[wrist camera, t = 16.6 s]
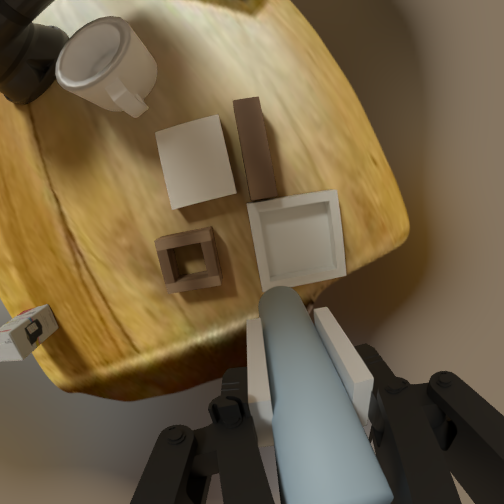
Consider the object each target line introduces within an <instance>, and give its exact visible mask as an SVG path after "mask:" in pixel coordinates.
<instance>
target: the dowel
mask: <svg viewBox="0 0 504 504" xmlns="http://www.w3.org/2000/svg"><path fill="white" fill-rule="evenodd" d="M258 309H259V318H261V324H262V331H263V339H264V347H265V355H266V363H267V371H268V379H269V387H270V395H271V403H272V411H273V418H272V431H273V440H274V448H275V457H276V466H277V474H278V483H279V492H280V500H281V504H390V503H391V502H392V500H393V498H394V496H393V494H392V491H391V489H390V487H389V484H388V482H387V480H386V477H385V475H384V473H383V471H382V468H381V466H380V464H379V462H378V459H377V457H376V455H375V453H374V451H373V448H372V446H371V444H370V442H369V439H368V437H367V435H366V433H365V431H364V428H363V426H362V424H361V422H360V420H359V418H358V415H357V413H356V411H355V409H354V407H353V405H352V403H351V400H350V398H349V396H348V394H347V392H346V390H345V388H344V386H343V384H342V382H341V379H340V377H339V375H338V373H337V371H336V369H335V367H334V365H333V363H332V361H331V359H330V357H329V355H328V352H327V350H326V348H325V346H324V344H323V342H322V340H321V338H320V336H319V334H318V332H317V330H316V328H315V326H314V324H313V322H312V320H311V318H310V316H309V314H308V312H307V310H306V308H305V306H304V304H303V302H302V300H301V298H300V296H299V294H298V293H297V292H296V291H295V290H293V289H292V288H290V287H287V286H276V287H273V288H271V289H269V290H267V291H266V292H265V293H264V294H263V295H262V297H261V298H260V301H259V305H258Z"/></svg>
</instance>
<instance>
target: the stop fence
mask: <svg viewBox="0 0 504 504" xmlns="http://www.w3.org/2000/svg"><path fill="white" fill-rule="evenodd" d="M233 106H234V113H235V118H236V123H237V129H238V134H239V139H240V145H241V150H242V156H243V161H244V166H245V172H246V177H247V183H248V188H249V194H250V199H251V201H252V200H258V199H264V198H269V197H275V196H278V195H277V189H276V184H275V178H274V172H273V167H272V161H271V156H270V151H269V145H268V140H267V135H266V130H265V125H264V120H263V115H262V110H261V105H260V100H259V97H252V98H246V99H240V100H234V101H233Z"/></svg>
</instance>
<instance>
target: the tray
mask: <svg viewBox="0 0 504 504" xmlns="http://www.w3.org/2000/svg"><path fill="white" fill-rule="evenodd" d="M246 204H247V209H248V215H249V220H250V226H251V231H252V237H253V242H254V248H255V253H256V259H257V264H258V270H259V275H260V281H261V286H262V291H263V292H266V291H267V290H269V289H271V288H273V287H276V286H287V287H294V286H299V285H304V284H309V283H314V282H319V281H324V280H329V279H333V278H338V277H343V276H346V264H345V253H344V243H343V233H342V224H341V216H340V209H339V201H338V194H337V190H324V191H317V192H310V193H304V194H297V195H291V196H285V197H279V198H273V199H267V200H261V201H255V202H250V203H246Z"/></svg>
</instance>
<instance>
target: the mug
mask: <svg viewBox="0 0 504 504" xmlns="http://www.w3.org/2000/svg"><path fill="white" fill-rule="evenodd" d="M157 74H158V71H157V64H156V62H155V60H154V58H153V56H152V55H151V54H150V52H149V51H148V49H147V48H146V47H145V45H144V44H143V43H142V41H141V40H140V39H139V37H138V36H137V34H136V33H135V32H134V30H133V29H132V28H131V26H130V25H129V24H128V22H126V21H125V20H123V19H122V18H120V17H113V16H108V17H103V18H98V19H96V20H94V21H92V22H89V23H87V24H86V25H84V26H83V27H82V28H80V29H79V30H78V31H76V32H75V33H74V34H73V36H72V37H71V38H70V39H69V40H68V41H67V42H66V44H65V45H64V47H63V49H62V50H61V52H60V54H59V57H58V60H57V62H56V71H55V75H56V78H57V82H58V84H59V85H60V86H61V87H62V88H63V89H65V90H67V91H69V92H71V93H73V94H75V95H78V96H80V97H82V98H84V99H86V100H88V101H90V102H92V103H94V104H96V105H98V106H100V107H102V108H104V109H106V110H109V111H123V110H124V111H125V112H126V113H127V114H129V115H130V116H132V117H134V118H138V117H139V116H140V115H141V114H142V113H144V112H145V111H146V110H147V109H149V107H148V106H147V105H146V103H145V102H144V101H143V99H144V98H145V97H146V96H147V95H148V94H149V93H150V91H151V90H152V88H153V86H154V85H155V82H156V78H157Z"/></svg>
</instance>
